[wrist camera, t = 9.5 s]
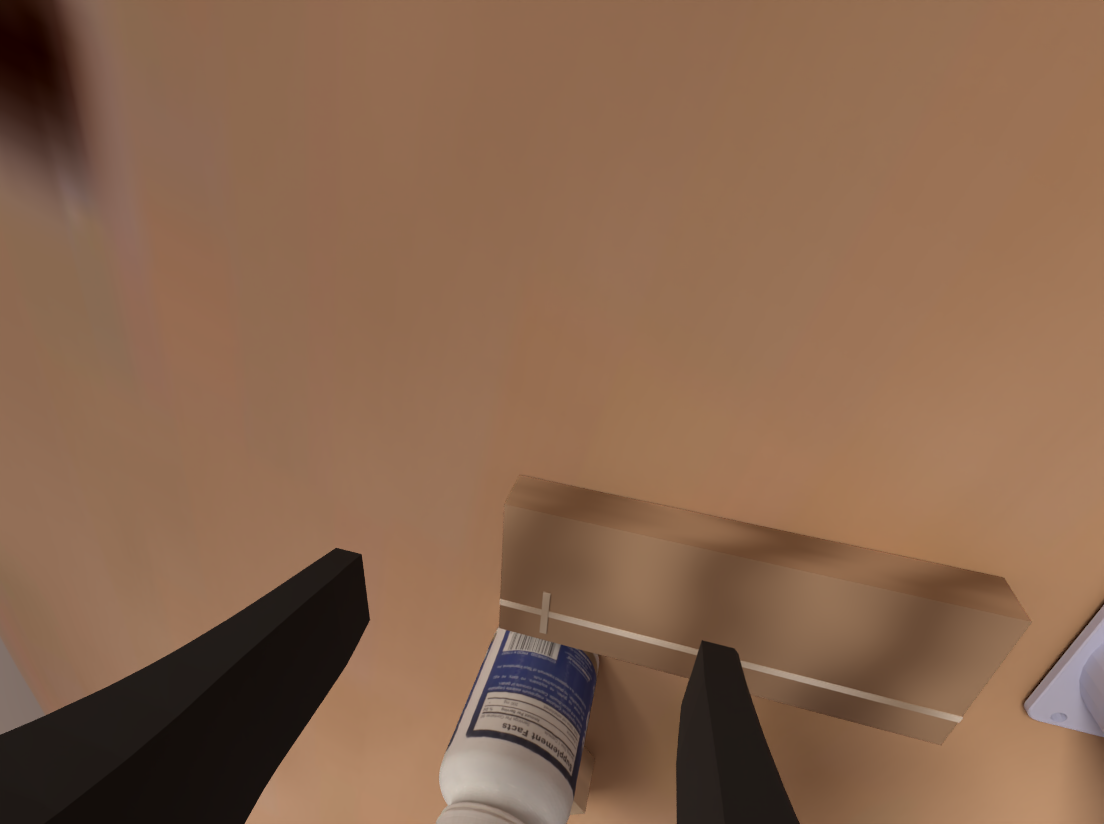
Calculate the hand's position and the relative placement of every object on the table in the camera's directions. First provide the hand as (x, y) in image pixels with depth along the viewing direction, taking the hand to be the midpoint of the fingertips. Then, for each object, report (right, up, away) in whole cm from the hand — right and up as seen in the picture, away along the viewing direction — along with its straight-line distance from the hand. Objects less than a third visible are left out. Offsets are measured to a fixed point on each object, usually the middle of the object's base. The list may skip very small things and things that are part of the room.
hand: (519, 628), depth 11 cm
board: (+8, -3, +12) cm, 14 cm away
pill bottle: (+1, -7, +16) cm, 18 cm away
